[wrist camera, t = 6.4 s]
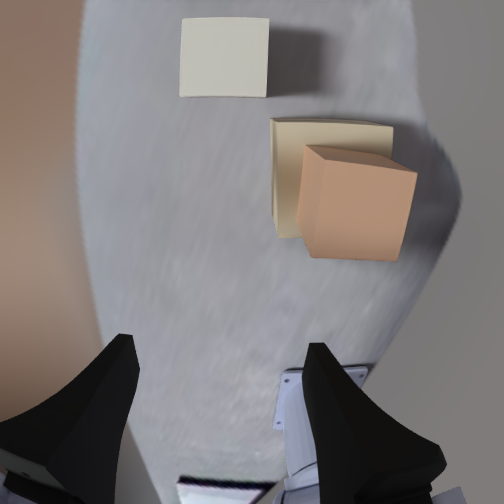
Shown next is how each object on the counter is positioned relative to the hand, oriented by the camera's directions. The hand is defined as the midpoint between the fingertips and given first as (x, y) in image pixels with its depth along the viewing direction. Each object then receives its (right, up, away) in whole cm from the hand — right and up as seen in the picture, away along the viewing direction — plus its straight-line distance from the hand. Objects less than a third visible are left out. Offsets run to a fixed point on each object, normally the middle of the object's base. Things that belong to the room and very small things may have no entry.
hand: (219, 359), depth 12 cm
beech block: (+5, +10, +7) cm, 13 cm away
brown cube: (+6, +8, +3) cm, 10 cm away
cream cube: (0, +15, +4) cm, 15 cm away
